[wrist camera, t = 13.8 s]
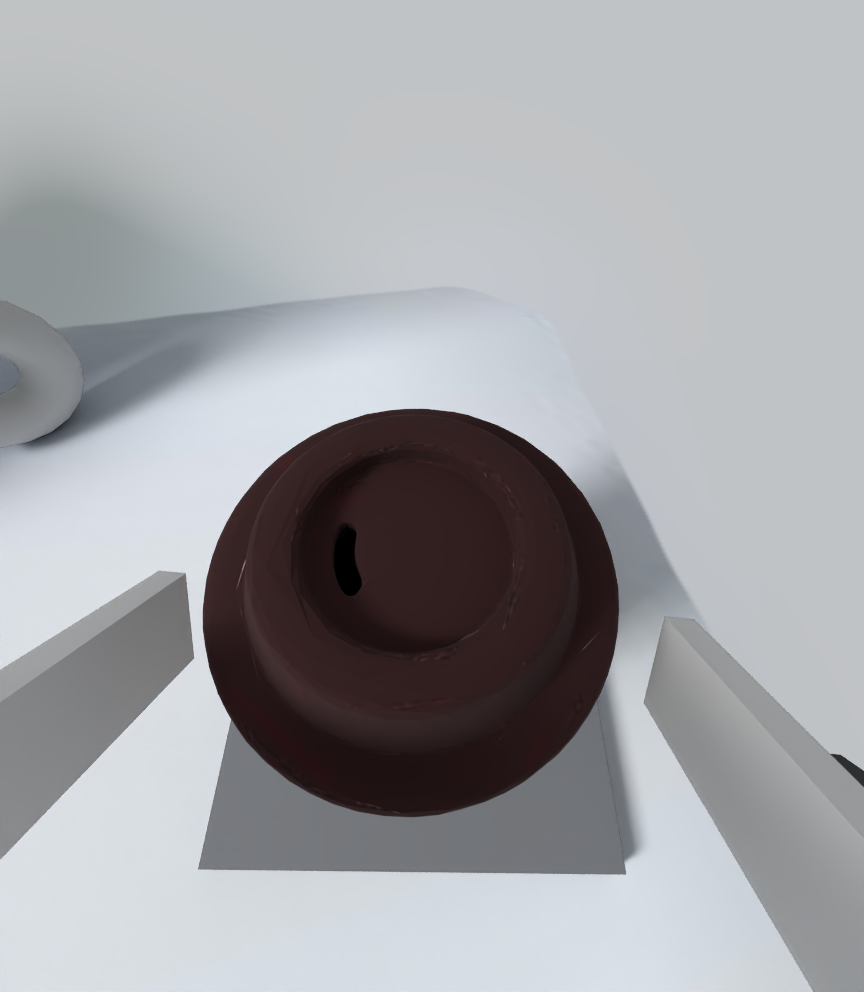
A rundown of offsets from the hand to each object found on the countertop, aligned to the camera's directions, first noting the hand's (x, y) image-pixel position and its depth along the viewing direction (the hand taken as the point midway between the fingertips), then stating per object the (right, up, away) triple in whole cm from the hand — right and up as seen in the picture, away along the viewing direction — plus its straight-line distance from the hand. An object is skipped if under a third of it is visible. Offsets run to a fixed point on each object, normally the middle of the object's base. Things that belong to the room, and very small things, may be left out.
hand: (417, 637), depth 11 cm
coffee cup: (0, -4, +10) cm, 11 cm away
